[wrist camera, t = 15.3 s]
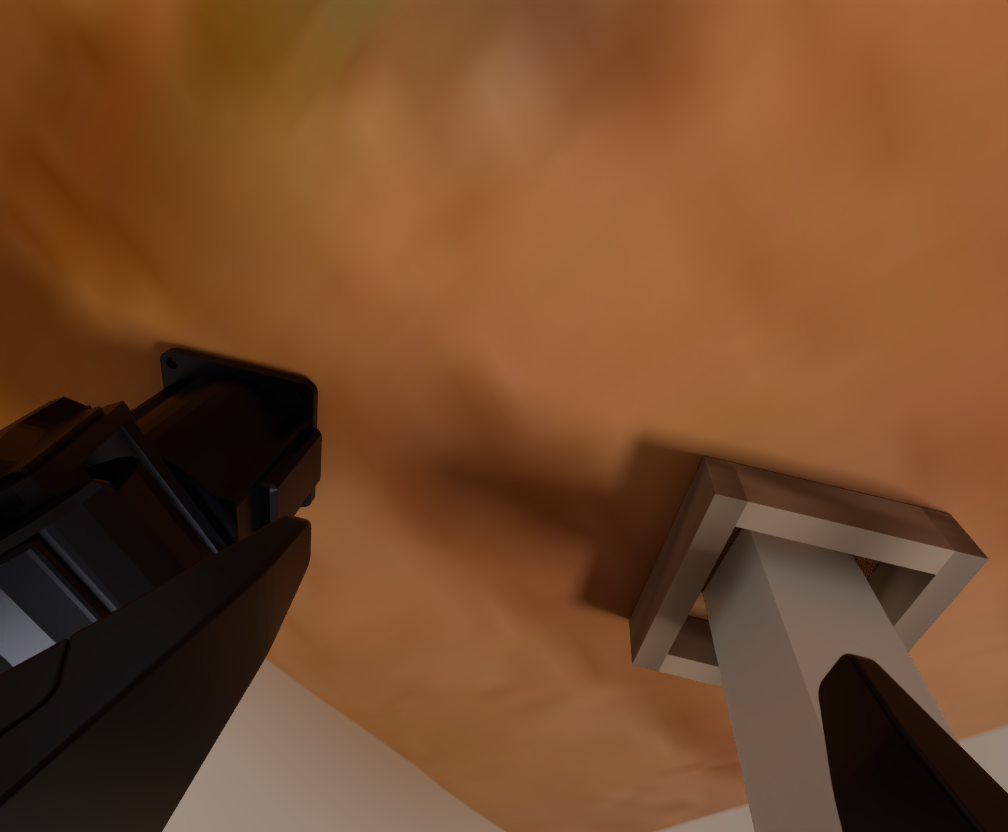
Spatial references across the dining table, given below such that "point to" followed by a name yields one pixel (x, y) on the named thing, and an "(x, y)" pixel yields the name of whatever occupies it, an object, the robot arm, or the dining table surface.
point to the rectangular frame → (804, 518)
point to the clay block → (794, 667)
